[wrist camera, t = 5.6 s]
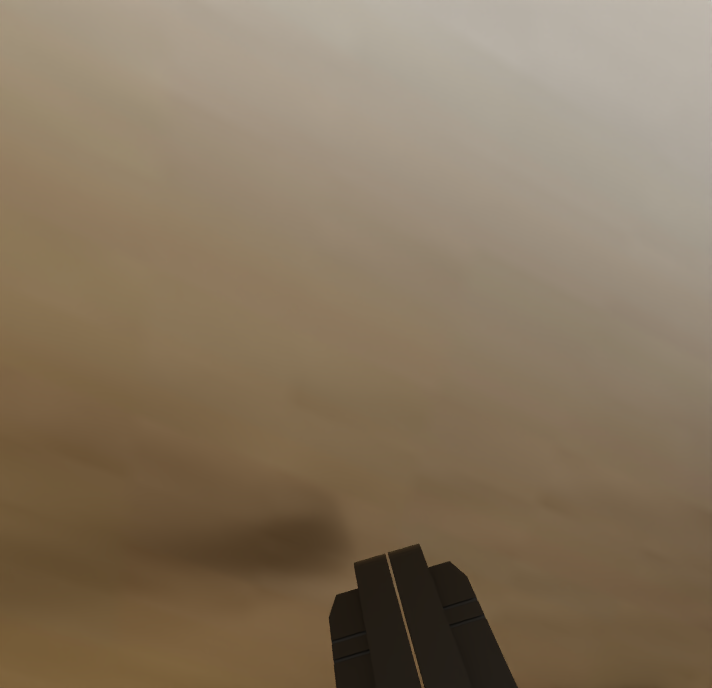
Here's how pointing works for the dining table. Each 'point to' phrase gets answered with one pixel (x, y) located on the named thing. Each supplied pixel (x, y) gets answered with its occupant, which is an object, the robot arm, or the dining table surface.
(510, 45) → the dining table surface
